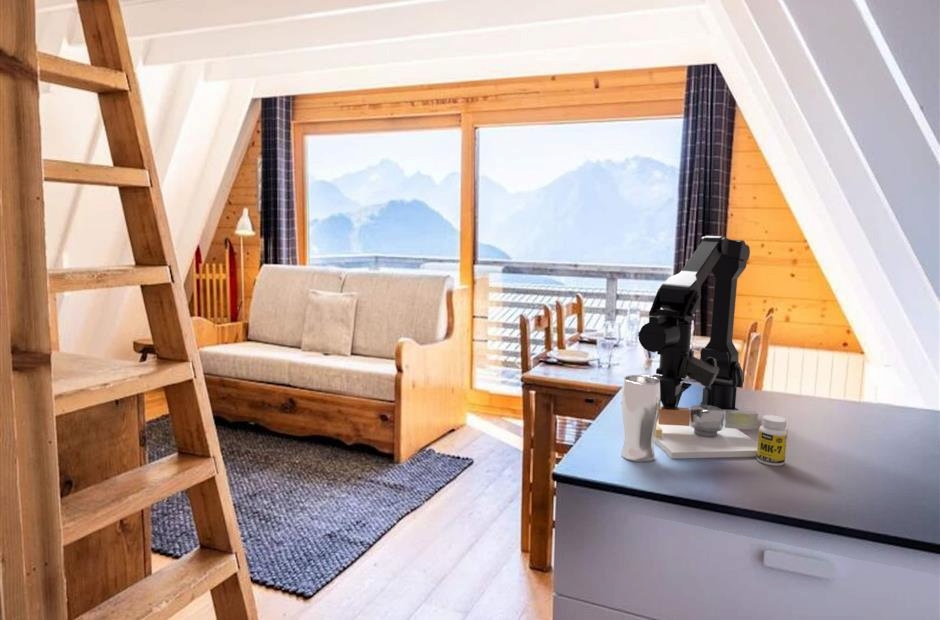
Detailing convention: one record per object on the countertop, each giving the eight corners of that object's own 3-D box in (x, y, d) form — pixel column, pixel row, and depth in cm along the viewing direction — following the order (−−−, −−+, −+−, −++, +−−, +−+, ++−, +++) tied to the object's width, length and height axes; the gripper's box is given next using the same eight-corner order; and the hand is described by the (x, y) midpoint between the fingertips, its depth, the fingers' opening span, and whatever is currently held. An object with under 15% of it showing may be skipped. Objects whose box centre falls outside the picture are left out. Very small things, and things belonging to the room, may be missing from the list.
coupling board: (720, 423, 140) (721, 411, 140) (768, 456, 122) (769, 442, 121) (636, 425, 139) (636, 412, 138) (671, 458, 120) (672, 444, 119)
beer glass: (636, 466, 116) (640, 386, 114) (611, 453, 122) (615, 376, 120) (665, 459, 119) (670, 381, 117) (639, 447, 125) (643, 373, 123)
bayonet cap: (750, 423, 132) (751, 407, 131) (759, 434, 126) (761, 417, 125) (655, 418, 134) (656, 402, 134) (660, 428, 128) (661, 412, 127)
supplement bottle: (755, 463, 118) (759, 419, 117) (757, 455, 122) (760, 412, 121) (784, 468, 116) (788, 423, 115) (785, 459, 120) (789, 416, 119)
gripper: (704, 358, 118) (698, 439, 120) (727, 341, 133) (722, 413, 136) (645, 350, 124) (640, 427, 127) (673, 335, 139) (669, 404, 142)
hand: (670, 417), depth 132 cm, fingers closed
